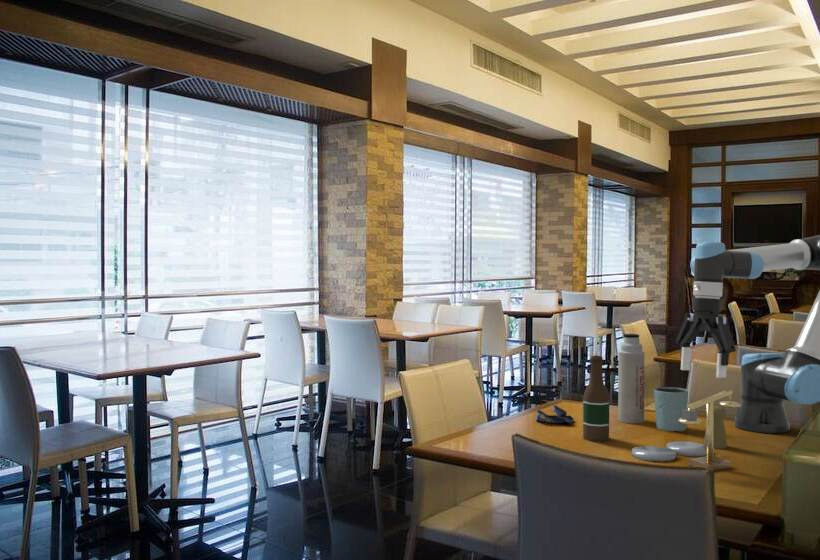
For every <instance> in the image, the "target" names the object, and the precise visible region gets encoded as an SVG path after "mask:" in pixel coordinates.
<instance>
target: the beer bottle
mask: <svg viewBox="0 0 820 560" xmlns="http://www.w3.org/2000/svg"><path fill="white" fill-rule="evenodd" d="M589 360H590V373H589V374H590V375H589V383H588V385H587V386H586V388H585V390H584V393H583V400H582V401H583V402H582V410H583V411H582V415H583V416H582V417H583V419H582V425H583V426H582V432H583V433H582V434H583V435H582V436H583V439H584V440H586V439H587V441H589V442H597V441H599V442H598V443H601V441H602V442H607V441H609V439H610V393H609V390H608V388H607V387H606V386H607V385H605V384H604V375H603V361H604V358H603V356H602V355H591V356H590V359H589Z"/></svg>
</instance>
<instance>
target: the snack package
mask: <svg viewBox="0 0 820 560" xmlns="http://www.w3.org/2000/svg"><path fill="white" fill-rule="evenodd" d="M551 412H553V413H554V414H555V415H554V414H550V415H549V414H547V413H545V412H544V411H542V410H537V411H536V414H535V416H534V419H535V421H536V422H544V421H545V422H546V423H551V424H552V423H553V424H557V423H559V424H562V423H567V424H572V423H574V421H575V419H574V417H573V416H571V415H568V413H567V411H566V410H565V409H563V408H562V407H560V406H558V405H556V404H552V409H551ZM571 422H572V423H571Z"/></svg>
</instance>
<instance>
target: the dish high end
mask: <svg viewBox="0 0 820 560" xmlns="http://www.w3.org/2000/svg"><path fill="white" fill-rule="evenodd" d="M666 448H668V449H671V450H673V451H675V452H676V455H677V454H678V456H682V457H683V456H685V457H694V458H699V457H706V445H704V443H699V442H693V441H686V440H685V441H681V440H680V441H669V442H668V443H666ZM698 456H699V457H698Z"/></svg>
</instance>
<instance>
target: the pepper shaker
mask: <svg viewBox="0 0 820 560" xmlns="http://www.w3.org/2000/svg"><path fill="white" fill-rule="evenodd" d="M726 415H727V411H726V409H725V408H724V406H720V405H714V423H713V449H717V450H718V449H719V450H721V449H722V450H723V449H727V448H728V442H727V435H726V427H725V421H724V420H725V418H726ZM705 416H706V417H707V407H706V409H705ZM706 427H707V425H706ZM703 439H704V441H703V444H704V445H706V431H705V434H704V438H703Z"/></svg>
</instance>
